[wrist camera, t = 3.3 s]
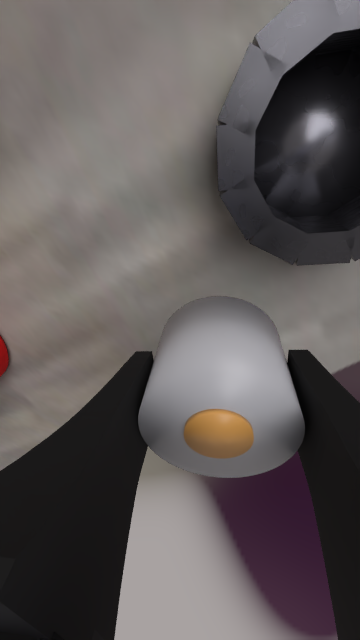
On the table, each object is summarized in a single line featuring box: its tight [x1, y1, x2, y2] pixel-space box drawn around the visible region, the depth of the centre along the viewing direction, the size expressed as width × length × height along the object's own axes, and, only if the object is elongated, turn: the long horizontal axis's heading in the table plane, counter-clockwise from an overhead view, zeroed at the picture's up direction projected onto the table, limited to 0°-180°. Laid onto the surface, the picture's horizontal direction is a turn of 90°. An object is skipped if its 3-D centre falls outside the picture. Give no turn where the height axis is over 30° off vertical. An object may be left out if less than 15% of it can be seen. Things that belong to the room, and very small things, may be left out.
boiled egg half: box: [138, 296, 305, 478], centre depth 10 cm, size 5×5×4 cm
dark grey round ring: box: [216, 0, 360, 265], centre depth 12 cm, size 9×9×4 cm
